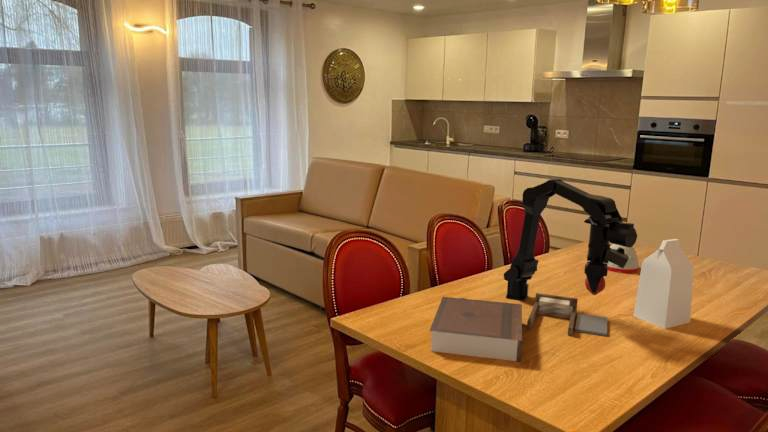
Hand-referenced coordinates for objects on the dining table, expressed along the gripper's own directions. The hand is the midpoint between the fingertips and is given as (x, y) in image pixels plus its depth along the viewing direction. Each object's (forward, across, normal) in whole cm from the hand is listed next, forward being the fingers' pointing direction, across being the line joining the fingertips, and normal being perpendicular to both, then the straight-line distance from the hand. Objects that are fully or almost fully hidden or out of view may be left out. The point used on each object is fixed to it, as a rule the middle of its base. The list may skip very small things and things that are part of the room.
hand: (594, 289), depth 175 cm
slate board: (+12, 0, 0) cm, 12 cm away
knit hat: (+12, +71, -8) cm, 73 cm away
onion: (+2, 0, 0) cm, 2 cm away
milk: (+12, +15, -21) cm, 28 cm away
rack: (+12, -1, +11) cm, 16 cm away
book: (+12, -23, +30) cm, 40 cm away
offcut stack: (+12, +5, +11) cm, 17 cm away
